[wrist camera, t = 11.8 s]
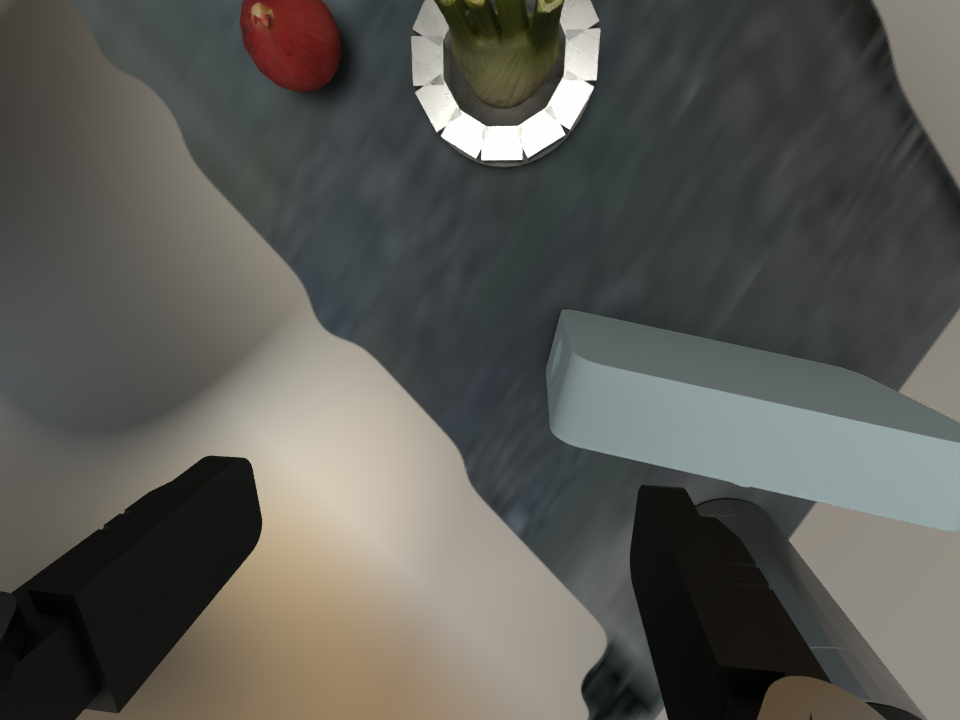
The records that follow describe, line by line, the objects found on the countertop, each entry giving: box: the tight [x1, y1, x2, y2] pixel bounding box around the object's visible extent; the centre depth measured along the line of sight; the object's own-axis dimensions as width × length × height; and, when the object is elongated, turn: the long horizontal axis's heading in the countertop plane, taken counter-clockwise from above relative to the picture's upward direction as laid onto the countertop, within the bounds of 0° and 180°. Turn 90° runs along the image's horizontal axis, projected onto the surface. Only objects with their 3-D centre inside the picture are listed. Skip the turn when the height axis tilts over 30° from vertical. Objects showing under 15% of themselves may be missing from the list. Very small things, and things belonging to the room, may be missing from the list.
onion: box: [240, 0, 341, 92], centre depth 28 cm, size 6×6×8 cm
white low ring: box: [411, 0, 600, 168], centre depth 29 cm, size 12×12×4 cm
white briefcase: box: [546, 310, 960, 532], centre depth 30 cm, size 23×6×13 cm, turn 79°
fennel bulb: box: [434, 0, 565, 109], centre depth 24 cm, size 6×5×12 cm
